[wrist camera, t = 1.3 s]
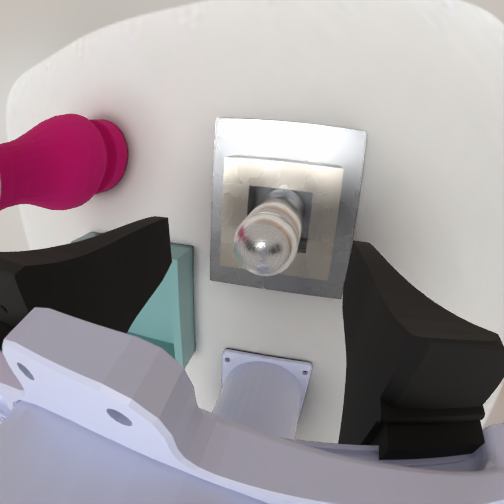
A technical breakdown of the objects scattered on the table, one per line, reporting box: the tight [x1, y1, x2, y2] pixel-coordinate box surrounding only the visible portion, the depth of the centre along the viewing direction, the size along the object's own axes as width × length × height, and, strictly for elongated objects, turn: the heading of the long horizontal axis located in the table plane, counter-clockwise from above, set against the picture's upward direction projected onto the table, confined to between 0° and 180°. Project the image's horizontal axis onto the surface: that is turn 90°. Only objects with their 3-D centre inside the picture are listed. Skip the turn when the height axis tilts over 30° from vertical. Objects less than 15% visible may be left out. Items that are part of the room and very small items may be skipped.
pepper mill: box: [0, 114, 127, 210], centre depth 14 cm, size 7×7×20 cm
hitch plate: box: [210, 118, 367, 299], centre depth 20 cm, size 12×10×4 cm
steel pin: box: [234, 189, 305, 276], centre depth 17 cm, size 3×3×8 cm
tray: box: [71, 232, 195, 369], centre depth 26 cm, size 10×10×3 cm
